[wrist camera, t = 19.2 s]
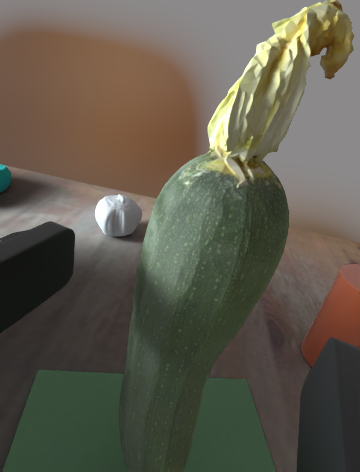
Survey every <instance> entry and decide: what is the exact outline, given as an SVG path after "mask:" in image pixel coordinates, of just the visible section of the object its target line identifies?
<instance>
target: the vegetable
mask: <svg viewBox="0 0 360 472" xmlns="http://www.w3.org/2000/svg"><path fill="white" fill-rule="evenodd" d="M272 26H273V29H274V32H275V35H273V36H272V37H271V38H270V39H268V41H266V42H263V43H260V44H258V45H257V51H256V55H255V56H254V58H252V59H251V61H250V62H249V64H248V66H247V67H246V69H245V71H244V74H243V76H242V77H241V78H240V79H239V80H238V81H237V82H236V83H235V84H234V85H233V86H232V88H231V89H230V90H229V92H228V95H227V97H226V98H225V99H224V100H223V101H222V102H221V103H220V104H219V106H218V108H217V110H216V112H215V113H214V116H213V117H212V119H211V121H210V123H209V126H208V136H209V140H210V141H209V143H210V151H209V152H208V153H206V154H204V155H201V156H198V157H196V158H194V159H192V160H191V161H189V162H188V163H186V164H185V165H184V166H183V167H181V168H180V169H179V170H178V171H177V172H176V173H175V174H174V175H173V176H172V177H171V178H170V179H169V181H168V182H167V183H166V185H165V186H164V187H163V189H162V191H161V193H160V194H159V196H158V198H157V200H156V202H155V205H154V208H153V210H152V214H151V217H150V220H149V223H148V227H147V230H146V233H145V238H144V241H143V245H142V251H141V257H140V260H139V265H138V270H137V276H136V284H135V292H134V306H133V312H132V316H131V320H130V326H129V336H128V345H127V356H126V363H125V370H124V377H123V382H122V387H121V394H120V402H119V430H120V441H121V448H122V453H123V458H124V464H125V468H126V470H127V472H182V471H183V469H184V468H185V465H186V463H187V460H188V456H189V453H190V449H191V445H192V440H193V434H194V430H195V427H196V423H197V419H198V414H199V409H200V404H201V399H202V394H203V389H204V385H205V382H206V380H207V378H208V375H209V373H210V370H211V367H212V366H213V364H214V362H215V360H216V359H217V357H218V355H219V354H220V353H221V352H222V350H223V349H224V348H225V347H226V345H227V344H228V343H229V342H230V340H231V339H232V338H233V337H234V335H235V334H236V333H237V331H238V330H239V329H240V328H241V326H242V325H243V323H244V322H245V320H246V319H247V317H248V315H249V314H250V312H251V311H252V309H253V307H254V306H255V304H256V303H257V301H258V299H259V298H260V296H261V295H262V293H263V291H264V290H265V288H266V286H267V285H268V283H269V281H270V279H271V277H272V276H273V274H274V272H275V270H276V268H277V266H278V264H279V261H280V259H281V256H282V254H283V251H284V247H285V243H286V239H287V235H288V227H289V209H288V204H287V199H286V194H285V191H284V189H283V187H282V184H281V182H280V181H279V179H278V178H277V176H276V175H275V174H274V172H273V171H272V170H271V168H270V167H269V166H268V165H267V164H266V163H265V162H264V161H262V160H263V158H264V157H265V156H266V155H267V154H268V153H270V152H273V151H274V152H277V150H278V146H279V143H280V142H281V141H282V140H283V138H284V137H285V135H286V133H287V131H288V128H289V126H290V123H291V121H292V119H293V116H294V114H295V112H296V110H297V107H298V105H299V103H300V100H301V98H302V95H303V93H304V89H305V85H306V72H307V69H308V68H309V67H310V66H311V65H310V62H309V57H310V56H314V55H318V54H320V52H321V51H322V49H323V48H325V47H326V48H327V51H326V55H324V56H321V63H320V65H321V66H322V67H323V69H324V71H325V78H328V79H331V78H333V77H334V73H336V72H337V71H338V70H339V69H340V68H341V67H342V66H343V65H344V64H345V62H346V61H347V59H348V56H349V54H350V53H351V52H352V51H353V46H352V40H353V37H354V35H353V33H352V31H351V30H352V27H351V21H350V19H349V18H348V16H347V14H345V13H343V11H342V6H341V4H340V3H339V2H338V1H337V0H331V1H328V0H326V1H325V2H324V3H323V4H322V3H320V2H319V3H316V4H314V5H312V6H310V7H308V8H306V7H305V8H304V9H302V10H301V12H300V13H298V14H296V15H294V16H293V17H291V18H285V19H283V20H280V21H278V22H275V23H272Z"/></svg>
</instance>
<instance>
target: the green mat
mask: <svg viewBox="0 0 360 472" xmlns="http://www.w3.org/2000/svg"><path fill="white" fill-rule="evenodd" d="M123 377H124V374H122V373H100V372H78V371H57V370H38V371H37V373H36V376H35V379H34V382H33V385H32V387H31V390H30V393H29V396H28V399H27V402H26V405H25V407H24V410H23V413H22V416H21V419H20V422H19V425H18V427H17V430H16V433H15V436H14V439H13V442H12V445H11V447H10V450H9V453H8V456H7V459H6V462H5V465H4V468H3V470H2V472H127V470H126V468H125V464H124V458H123V453H122V448H121V441H120V430H119V402H120V394H121V387H122V382H123ZM182 472H276V469H275V466H274V463H273V460H272V457H271V454H270V451H269V448H268V445H267V441H266V438H265V435H264V432H263V429H262V426H261V423H260V420H259V417H258V414H257V410H256V407H255V404H254V401H253V398H252V395H251V392H250V389H249V386H248V382H247V380H246V379H230V378H207V380H206V382H205V385H204V389H203V394H202V399H201V404H200V409H199V414H198V419H197V423H196V427H195V430H194V434H193V440H192V445H191V449H190V453H189V456H188V460H187V463H186V465H185V468H184V469H183V471H182Z"/></svg>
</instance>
